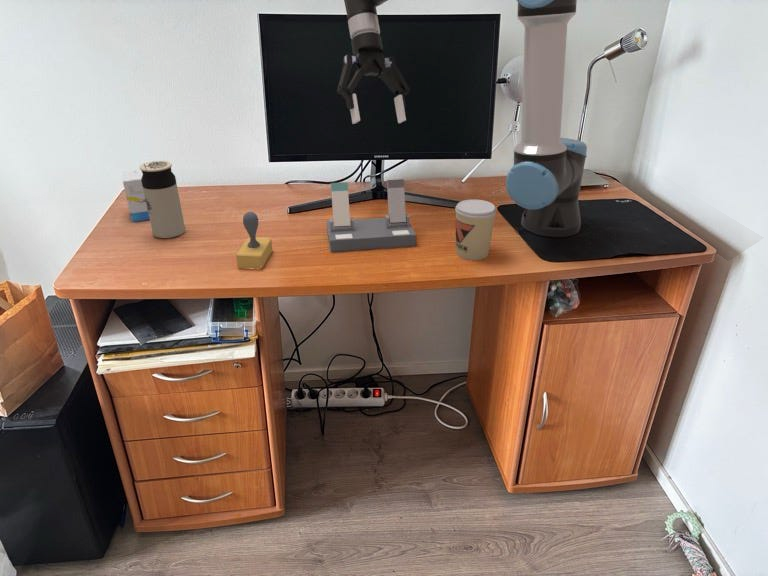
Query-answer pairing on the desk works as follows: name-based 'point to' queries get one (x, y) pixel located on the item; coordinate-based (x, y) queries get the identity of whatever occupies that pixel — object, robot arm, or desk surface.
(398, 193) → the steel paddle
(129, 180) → the ink box
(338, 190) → the cream paddle
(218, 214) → the desk surface
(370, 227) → the control panel
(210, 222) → the desk surface
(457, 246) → the coffee cup
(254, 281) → the desk surface
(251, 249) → the rubber stamp
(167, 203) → the travel mug
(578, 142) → the robot arm
